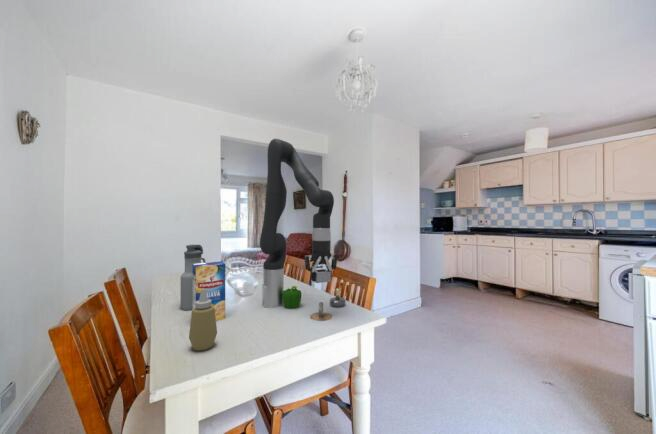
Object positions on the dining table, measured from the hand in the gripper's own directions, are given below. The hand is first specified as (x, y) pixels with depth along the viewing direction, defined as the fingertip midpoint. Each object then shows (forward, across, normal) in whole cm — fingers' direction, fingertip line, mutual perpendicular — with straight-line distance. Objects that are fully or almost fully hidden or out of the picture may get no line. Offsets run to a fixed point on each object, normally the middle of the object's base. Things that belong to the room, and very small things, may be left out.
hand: (320, 280), depth 108 cm
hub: (+15, -12, -10) cm, 22 cm away
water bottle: (+16, +49, -34) cm, 61 cm away
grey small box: (0, 0, 0) cm, 0 cm away
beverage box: (+16, +42, -16) cm, 47 cm away
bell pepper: (+16, +8, -16) cm, 24 cm away
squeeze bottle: (+16, +43, +8) cm, 46 cm away
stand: (+15, 0, 0) cm, 15 cm away
